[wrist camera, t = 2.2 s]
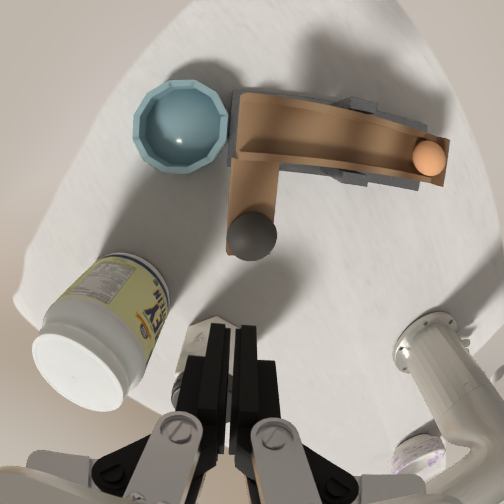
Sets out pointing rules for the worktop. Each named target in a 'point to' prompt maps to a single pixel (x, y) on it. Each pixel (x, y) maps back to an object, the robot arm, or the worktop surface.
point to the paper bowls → (416, 454)
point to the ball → (429, 158)
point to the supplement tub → (103, 331)
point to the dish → (181, 126)
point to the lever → (306, 158)
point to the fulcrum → (336, 173)
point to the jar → (197, 346)
